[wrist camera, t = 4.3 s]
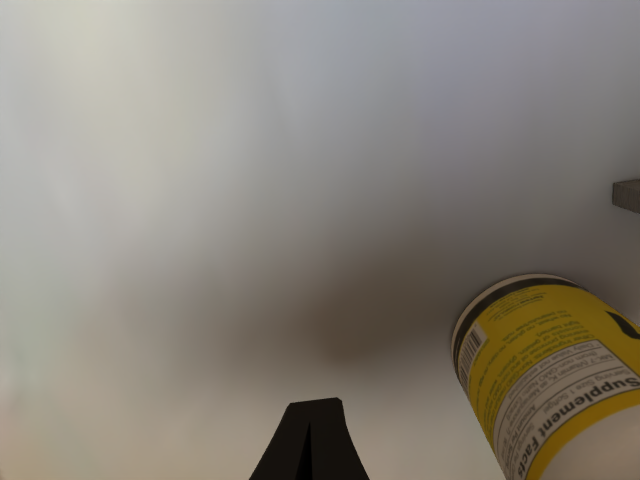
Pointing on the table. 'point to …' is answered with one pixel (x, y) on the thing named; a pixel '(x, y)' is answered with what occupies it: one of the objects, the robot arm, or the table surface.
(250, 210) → the table surface
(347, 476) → the robot arm
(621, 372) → the supplement bottle
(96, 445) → the table surface
